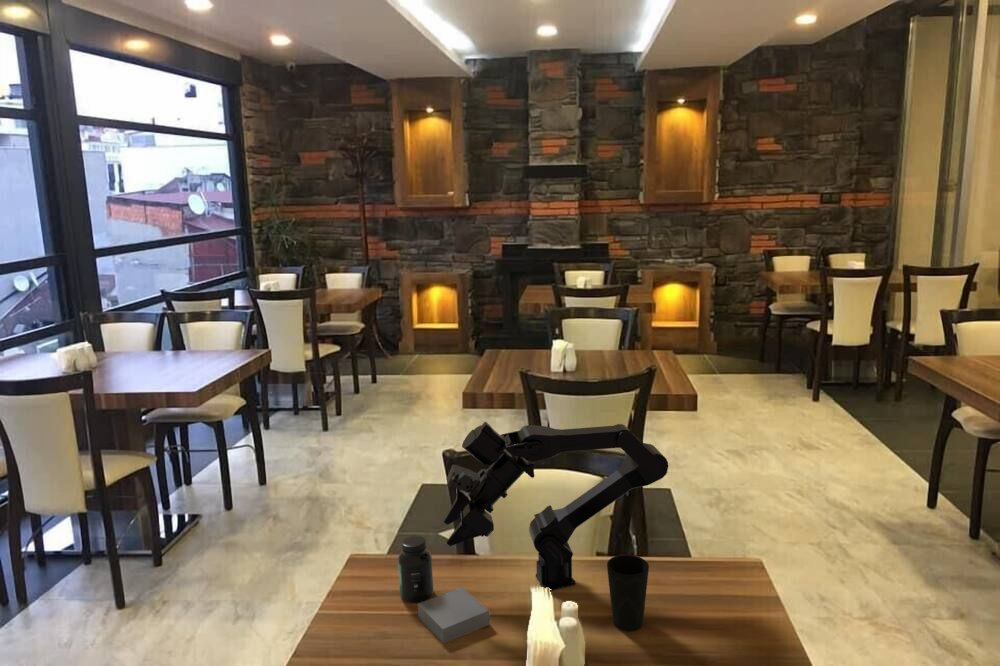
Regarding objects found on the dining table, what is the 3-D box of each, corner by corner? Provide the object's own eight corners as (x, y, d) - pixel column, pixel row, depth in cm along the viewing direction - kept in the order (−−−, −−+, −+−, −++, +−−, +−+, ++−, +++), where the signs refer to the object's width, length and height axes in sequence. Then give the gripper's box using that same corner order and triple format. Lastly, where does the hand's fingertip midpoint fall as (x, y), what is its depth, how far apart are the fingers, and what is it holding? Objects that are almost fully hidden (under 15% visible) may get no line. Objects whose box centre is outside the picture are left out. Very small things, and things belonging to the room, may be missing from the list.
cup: (648, 636, 136) (648, 577, 134) (606, 632, 138) (605, 573, 135) (648, 612, 144) (649, 555, 141) (608, 609, 145) (608, 553, 143)
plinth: (462, 600, 150) (462, 587, 149) (489, 624, 142) (489, 610, 141) (418, 618, 144) (417, 604, 144) (443, 643, 136) (442, 629, 136)
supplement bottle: (396, 603, 150) (392, 548, 147) (404, 585, 156) (401, 532, 154) (430, 604, 149) (426, 549, 146) (436, 586, 155) (433, 533, 153)
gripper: (465, 437, 157) (415, 490, 158) (474, 471, 139) (417, 531, 140) (503, 469, 159) (454, 521, 160) (517, 507, 141) (461, 565, 142)
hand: (446, 533), depth 151 cm, fingers open, 9 cm apart
